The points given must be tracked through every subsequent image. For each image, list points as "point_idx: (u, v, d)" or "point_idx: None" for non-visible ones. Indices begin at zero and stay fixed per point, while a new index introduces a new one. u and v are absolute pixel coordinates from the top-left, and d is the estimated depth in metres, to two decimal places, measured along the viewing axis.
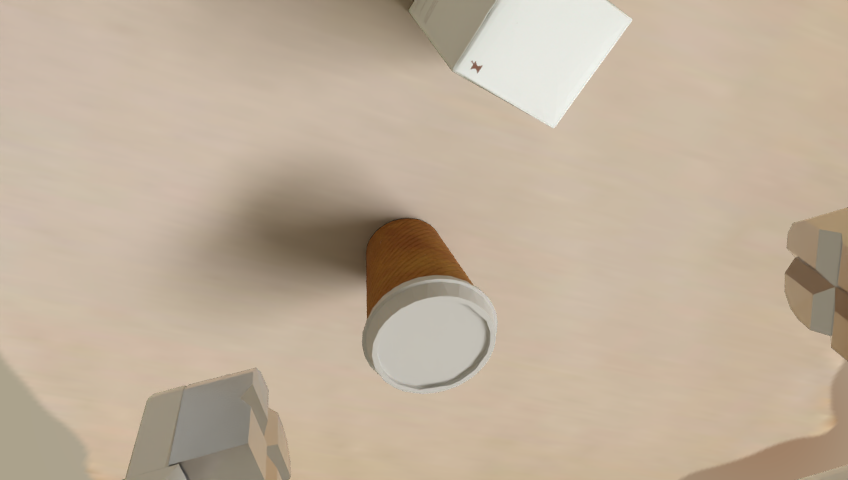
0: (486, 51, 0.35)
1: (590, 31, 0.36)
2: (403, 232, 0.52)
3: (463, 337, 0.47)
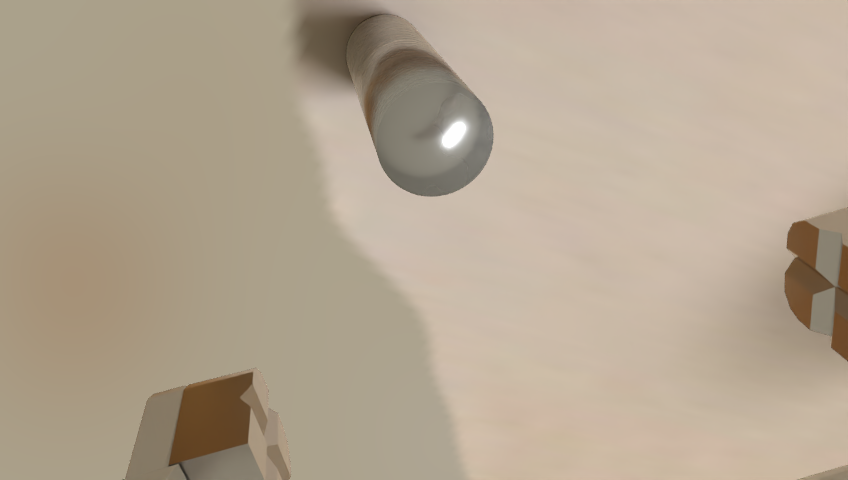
0: None
1: None
2: None
3: None
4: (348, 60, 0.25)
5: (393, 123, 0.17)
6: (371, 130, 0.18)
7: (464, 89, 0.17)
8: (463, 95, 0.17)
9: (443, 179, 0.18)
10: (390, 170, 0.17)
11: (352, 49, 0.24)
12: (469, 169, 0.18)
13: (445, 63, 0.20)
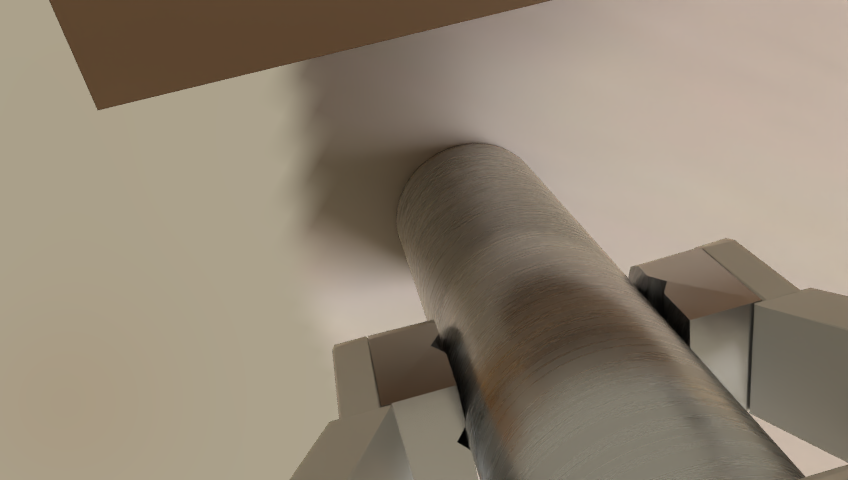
0: None
1: None
2: None
3: None
4: (406, 241, 0.12)
5: None
6: None
7: None
8: None
9: None
10: None
11: (417, 227, 0.12)
12: None
13: (698, 360, 0.08)
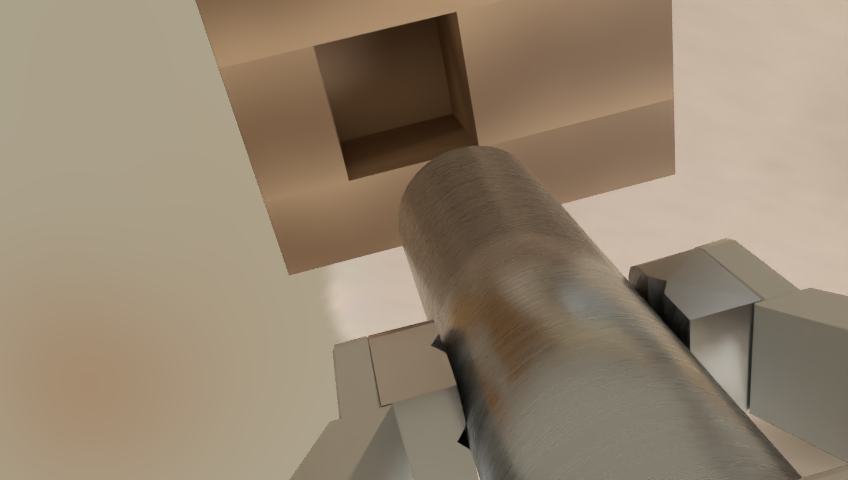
0: None
1: None
2: None
3: None
4: (407, 242, 0.13)
5: None
6: None
7: None
8: None
9: None
10: None
11: (418, 229, 0.12)
12: None
13: (696, 362, 0.08)
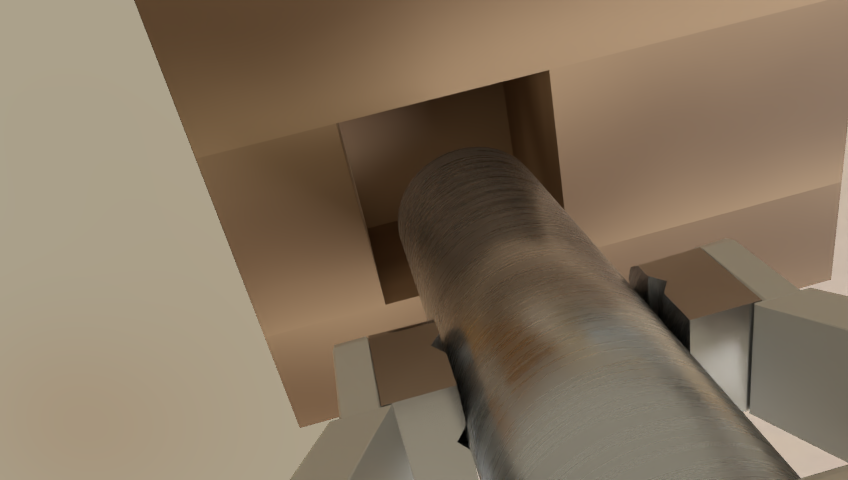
0: None
1: None
2: None
3: None
4: (407, 243, 0.13)
5: None
6: None
7: None
8: None
9: None
10: None
11: (418, 230, 0.12)
12: None
13: (695, 363, 0.08)
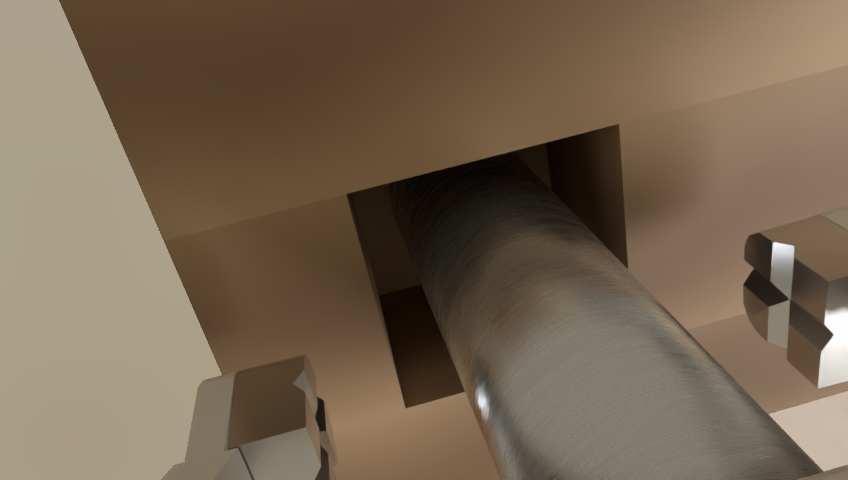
0: None
1: None
2: None
3: None
4: (399, 214, 0.14)
5: None
6: None
7: None
8: None
9: None
10: None
11: (410, 200, 0.13)
12: None
13: (655, 299, 0.09)
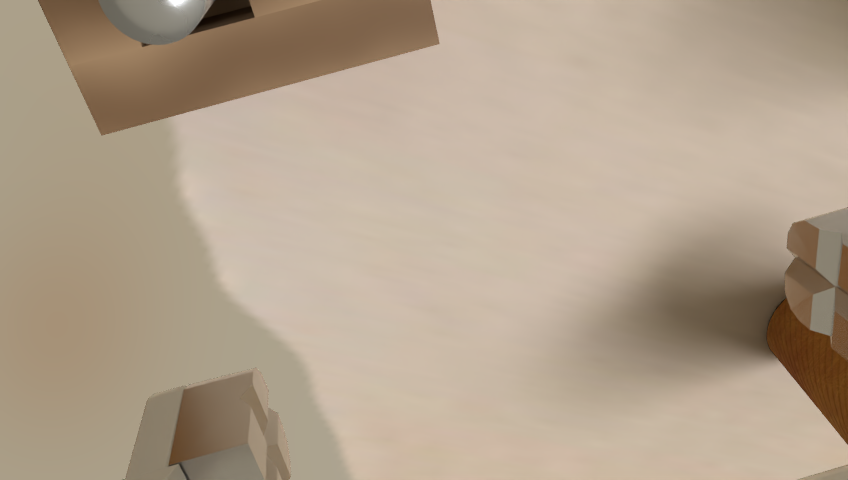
0: None
1: None
2: None
3: None
4: None
5: None
6: None
7: None
8: None
9: (165, 28, 0.20)
10: (114, 19, 0.20)
11: None
12: (188, 19, 0.20)
13: None
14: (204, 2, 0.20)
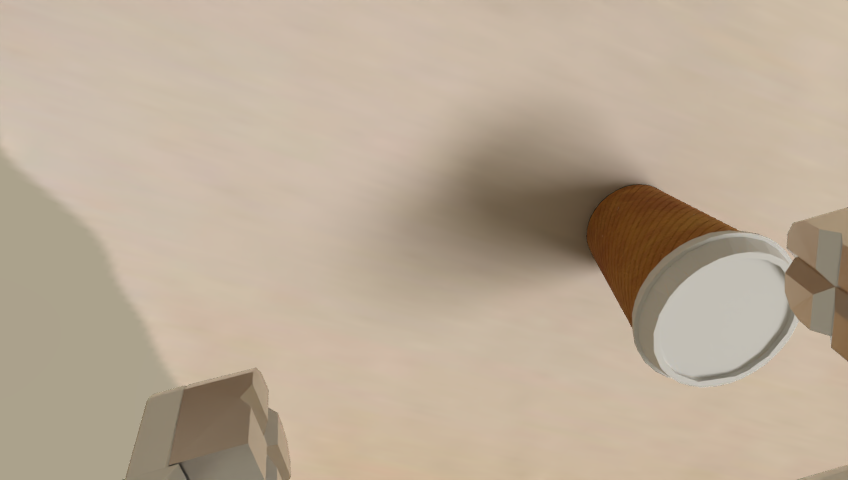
0: None
1: None
2: (647, 195, 0.43)
3: (761, 311, 0.37)
4: None
5: None
6: None
7: None
8: None
9: None
10: None
11: None
12: None
13: None
14: None
